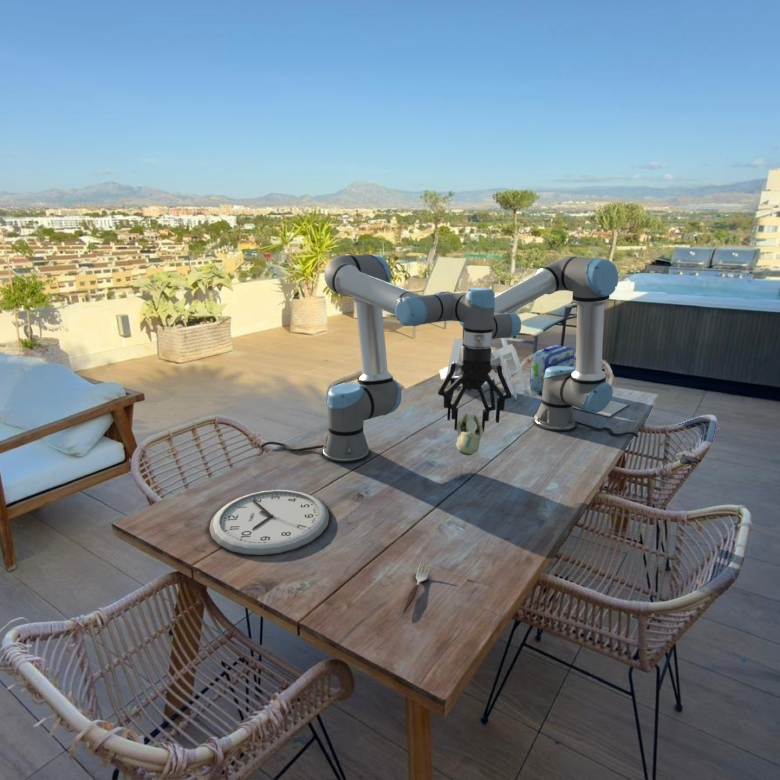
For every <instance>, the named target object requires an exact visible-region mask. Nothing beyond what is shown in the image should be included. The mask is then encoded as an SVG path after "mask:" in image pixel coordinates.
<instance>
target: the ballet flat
mask: <svg viewBox="0 0 780 780" xmlns="http://www.w3.org/2000/svg"><path fill="white" fill-rule="evenodd" d="M456 432H457V434H458V435H457V438H456V439H457V441H456V443H455V446H456V448H457V451H458V453H459V454H461V455H464V456H473V455H474V454H475V453H477V452H478V450H479V449H480V441H481V438H482V436H483V435H484V432H483V428H482V422H481V421H480V418H479V417H478V415H475V414H474V413H464V414H463V415H461V417H460V418H459V420H457V430H456Z"/></svg>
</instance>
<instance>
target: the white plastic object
mask: <svg viewBox="0 0 780 780" xmlns="http://www.w3.org/2000/svg"><path fill="white" fill-rule="evenodd" d="M462 339H463V338H460V339H458V338H454V340H453V344H452V349H451V353H450V357H449V362H448V366H446V367H444V368H442V369H440V370H439V371H438V372H439V376H440V381H442V382H443V381H444V379H445V378H446V376H447V374H448V372H449V371H450V368H451V363H452V362H455V363H458V364H461V360H462V358H461V355H462ZM500 342H501V345H502V347H500V348H498V349H496V350H495V349H493V348H492V347H491V346H490V348H491V362H490V363H491V365H497V364H501V366H502V371H503V373H504V378H505V381H506V383H507V385H508V387H509V390H510V392H511V395H512V397H513V398H514V399H515V400H517V392H516V391H517V390H516V388H515V385H514V381H513V378H512V375H511V371H510V369H509V365H508V361H510V360H513V363H514V366H515V369H516V372H517V376H518V380H519V382H520V385H521V389H522V391H523V393H524V395H525V396H526V397H528V396H531V395H530V389H529V388H528V387H529V386H528V384H527V381H526V378H525V375H524V371H523V369H522V368H523V367H522V366H521V362H520V359H519V355H518V352H517V349H516V347H515V346H514V345H513V343H511V344H508V341H507V338H500ZM460 372H461V368H459V369H458V370H457V371H455V372H454V374H453V376H454V377H457V376H459V375H460ZM492 372H494V370H493V369H492V370H491V371H490V372H489V374H490V373H492ZM449 385H450V386H451V382H450V381H449V383H448V385H447V386H449Z"/></svg>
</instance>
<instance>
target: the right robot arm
mask: <svg viewBox="0 0 780 780" xmlns="http://www.w3.org/2000/svg"><path fill="white" fill-rule="evenodd" d="M618 284H619V272H618V268H617V266H616V265H615V264H614V263H613V262H612V261H611V260H610V259H607V258H601V257H590V256H589V257H588V256H587V257H586V256H565V257H563V258H560V259H557V260H555V261H552V262H551V263H548V264H546V265H545V266H543V267H541V268H539V269H538V270H537V271H536V272H535V274H534V275H532V276H530V277H529V278H526V279H525V280H523V281H521V282H519V283H517V284H515V285H513V286H512V287H510V288H508V289H506V290H505V291H502V292H500V293H499V294H497V295H495V308H494V317H493V327H492V328H493V332H492V340H497V339H498V340H499V339H501V338H506V339H509V338H512V337H516V336H518V335H519V334H520V332H521V331H522V320H521V317H520V316H519V315H518V314H517V313H515V311H517V310H519V309H521V308H523V307H525V306H526V305H528V304H530V303H532V302H533V301H535V300H537V299H540V298H541V297H542V296H544V295H553V294H555V293H557V292H561V291H562V292H563V291H567V292H572V301H573V302H574V303H575V304H576V339H575V340H576V341H575V342H576V345H575V367H574V366H573V367H569V366H555V367H549V368H547V369H546V370H545V375H544V379H543V391H542V393H541V402H540V405H539V407H538V410H537V411H536V413H535V414H534V417H533V418H534V424H535V425H536V426H537V427H539V428H542V429H544V430H549V431H556V432H567V431H572V430H574V429H575V428H576V425H579V426H581V427H586V428H588V429H591V430H594V431H605V430H606V431H608V432H609V434H610V435H611V436H614V437H623V436H627V435H633V436H634V437H636V438H639V437H640V436H639V435H638V434H637V433H636V432H634V431H627V432H626V431H625V432H621V433H616V432H613V430H612V428H610V427H607V426H602V427H596V426H593V425H590V424H587V423H583V422H581V421H576V418H575V417H576V416H575V413H574V407H577V408H580V409H583V410H582V411H584V412H587V413H593V414H596V413H597V412H600V411H602V410H603V409H604V408H605V407H606V406H607V405H608V404H609V402H610V401H612V398H613V394H614V390H613V386H612V385H611V384H610V383H608V382H607V374H606V372H605V371H603V369H602V368H603V367H602V366H603V346H604V345H603V343H604V319H605V304H606V303H607V302H608V301H609V299H610V296H611V295H612V294H613V293H615V291H616V288H617V287H618ZM458 322H459V324H460V326H461V327H462V338H461V339H462V355H461V358H462V360H461V364H462V362H463V348H464V346H465V345H464V329H465V322H460V321H458ZM462 373H463V371H462V370H461V372H460V375H459V376H457V377H454V376H452V378H451V380H450V382H451V384H450V386H451V385H452V384H453V383H454V382H455V381H456V380H457V379H458V378H459V377H460V376H461V374H462ZM491 379H492V380H493V381H494V383H495V384H496V380H495V378H494V377H491ZM485 383H486V384H487V386H488V389H489V399H490V405H489V403H488V401H487V398H486V395H485V393H484V389H483V388H482V386H484V384H485ZM468 390H474V391H477V392H478V394H479V397H480V400H481V402H482V405H483V407H484V409H482V415H481V416H482V417H481V426H482V428H483V433H485V429H486V427H485V426H486V422H489V420H490V412H491V411H496V398H495V391H494V390H493V389H492V388H491V386H490V385H489V384H488V383H487V382H486V380H485V379H483V380H470V379H468V378H467V379H466V380H465V381H464V382H462V383H461V387H460V389H459V392H458V393H457V395H456V397H455V399H454V401H453V397H454V392H453V393H452V394H451V401H453V402H452V403H451V410H450V411H451V414H450V419H451V420H454V427H453V428H454V431H457V424H458V417H459V415H458V414H459V407H458V406H459V404H460V402H461V400H462V398H463V396H464V394H465V392H466V391H468ZM580 409H579V410H580Z"/></svg>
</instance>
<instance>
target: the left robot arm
mask: <svg viewBox="0 0 780 780" xmlns="http://www.w3.org/2000/svg"><path fill="white" fill-rule="evenodd" d="M323 276H324V277H323V278H324V281H325V284H326V285H327V287H328V288H329V289H330V290H331V291H332V292H334V293H336V294H338V295H340V296H342V297H349V296H350V299H351V300H352V301H353V302H354V303H355V310H356V319H357V321H356V322H357V329H358V331H357V332H358V339H359V350H360V351H359V352H360V360H361V370H362V373H361V375H360V376H359V378H358V382H356V381H355V382H353V381H350V382H342V383H339V384H336V385H334V386H332V387H331V388H329V390H328V392H327V401H326V405H327V427H328V428H327V430H328V431H327V435H326V438H325V440H324V444H320V445H314V446H307V447H301V448H290V447H289V445H287V444H286V443H282V442H279V441H278V442H277V441H266V442H264V443H262V444H261V445H260V446H259V447H260V448H264V447H265V446H269V445H274V446H275V445H276V446H280V447H284V448H285V449H286V450H287V451H290V452H295V453H296V452H297V453H298V452H304V451H309V450H310V451H311V450H316V449H322V448H323V449H322V455H323V457H324V458H325V459H327V460H329V461H332V462H336V463H344V464H345V463H355V462H359V461H362V460H364V459H366V458H367V457H368V456H369V453H370V452H369V451H370V449H369V445H368V442H367V438H366V436H365V432H364V422H365V421H367V420H370V419H374V418H377V417H378V418H379V417H381V416H386V415H389V414H392V413H393V412H395V411H396V410H398V409H399V407H400V405H401V402H402V389H401V386H399V383H398V382H397V380H395V379H394V375H393V374H391V372H390V371H389V370H388V369H389V368H388V359H387V348H386V337H385V326H384V315H383V314H384V313H383V311H385V312H387V313H389V314H391V315H394V316H395V317H396V320H397V321H399V323H400V324H401V325H402V326H405V327H418V326H421V325H428V324H433V323H434V324H435V323H440V322H441V323H442V322H447V321H453V322H454V321H455V322H459V321H460V322H465V329H464V345H465V346H464V348H463V362H462V364H458V363H455V362H452V363H451V368H450V371H449V372H448V374H447V376H446V378H445V379H444V381H442V383H441V385H440V386H439V388H438V390H437V395H438V396H442V397H443V408H444V409H447V418H446V420H447V421H451V411H452V410H451V404H452V400H451V394H452V393H453V394H454V392H455V391H456V390H457V389H458V388H459V387H460V386H461V385H462V382H464V381H465V380H466V379H467V378H468V379H470V380H483V379H485V380H486V382H485V383H486V384H487V383H488V384H489V385H490V386H491V388H492V389H493V390H494V394H496V395H497V396H498V397H496V406H495V408H496V409H495V422H496V423H495V424H499V423H500V416H501V412H504V410H505V403H506V400H508V399H512V398H513V395H512V394H511V392H510V390H509V387H508V384H507V380H506V377H505V375H504V374H503V367H502V363H501V364H497V365H491V363H490V362H491V348H492V347H491V346H492V345H493V339H492V332H493V328H492V327H493V317H494V308H495V296H496V293H495V291H494V289H492V288H489V287H470V288H468V289H466V294H464V293H458V292H452V291H437V292H435V293H434V294H425V295H423V294H422V295H421V294H418V293H415V292H412V291H410V290H408V289H405V288H402V287H401V286H397V285H396V284H393V283H391V281H392V272H391V268H390V265H389V263H388V262H387V260H386V259H384V257H383V256H381V255H378V254H372V253H369V254H368V253H366V254H342V255H337V256H335V257H334V258H332V259H331V260H329V262H328V263H327V264H326V266H325V269H324V274H323ZM460 322H459V323H460ZM490 347H491V348H490ZM459 368H461V370H462V371H463V373H462V374H461V376H460V377H459V378H458V379H457V380H456V381H455V382H454V383H453V384H452V385H451V384H450V386H449V385H448V383H449V381H450V380H451V378H452V376H453V374H454V372H455V371H457V370H458V369H459ZM492 369H493V373H496V374H497V376H498V378H499V381H500V383H501V386H502V388H503V390H504V392H505V393H503V391H502V390H501V389H500V387H499V386H498V385H497V384H496V382H495V383H494V381H493V380H492V379H491V378H492V377H491V376H490V375H489V374H490V373H491V372H490V371H491V370H492ZM489 372H490V373H489ZM488 384H487V385H488ZM489 385H488V386H489ZM447 386H449V387H448V388H447ZM446 388H447V389H446Z"/></svg>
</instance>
